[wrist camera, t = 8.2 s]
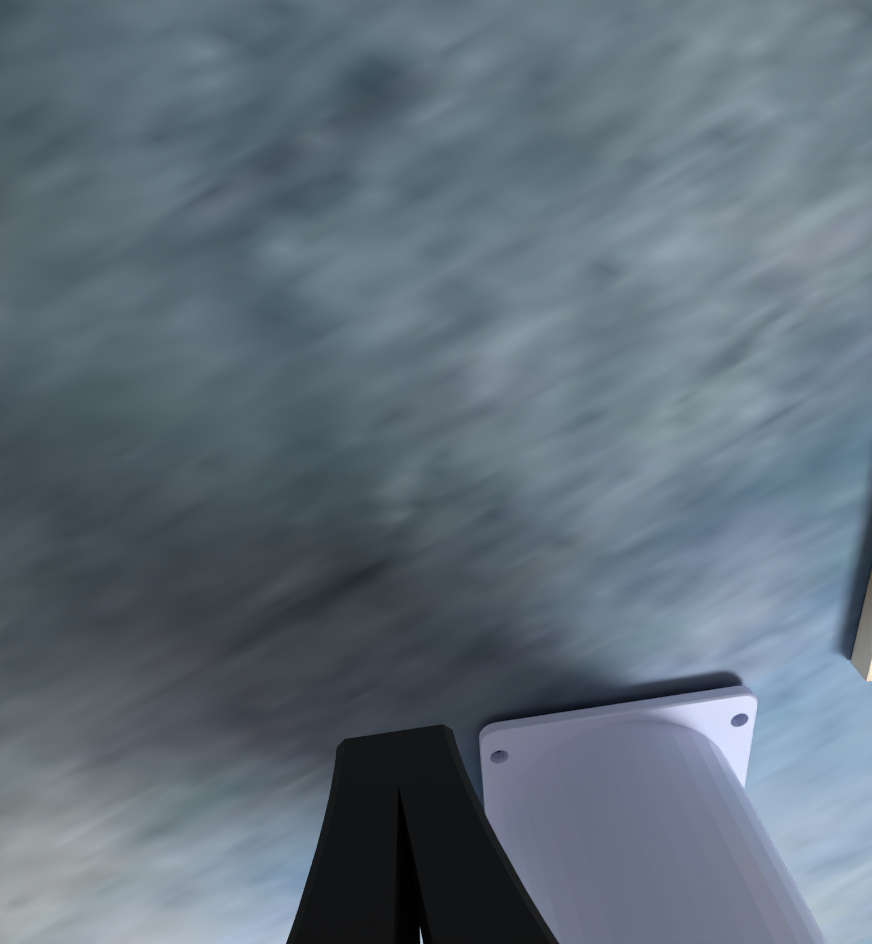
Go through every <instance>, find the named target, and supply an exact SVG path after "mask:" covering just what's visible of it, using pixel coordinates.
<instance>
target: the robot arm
mask: <svg viewBox="0 0 872 944" xmlns="http://www.w3.org/2000/svg"><path fill="white" fill-rule="evenodd" d="M757 704H758V703H757V698H756V697H755V695H754V693H753V692H752V691H751V689H750V688H748V687H746V686H733V687H726V688H720V689H713V690H707V691H700V692H693V693H687V694H680V695H673V696H667V697H660V698H654V699H647V700H640V701H634V702H627V703H620V704H614V705H607V706H601V707H594V708H587V709H581V710H574V711H568V712H561V713H554V714H548V715H541V716H534V717H528V718H521V719H515V720H508V721H501V722H495V723H492V724H489V725H487V726H486V727H484V728H483V729H482V731H481V732H480V735H479V745H480V758H481V771H482V784H483V797H484V810H485V812H484V810H483V808H482V806H481V804H480V802H479V800H478V797H477V795H476V793H475V791H474V789H473V786H472V784H471V782H470V779H469V777H468V775H467V772H466V770H465V767H464V765H463V762H462V759H461V757H460V754H459V751H458V748H457V745H456V742H455V738H454V734H453V731H452V730H451V729H450V728H448V727H447V726H445V725H443V724H442V725H435V726H429V727H422V728H415V729H409V730H402V731H395V732H389V733H382V734H376V735H369V736H362V737H356V738H349V739H345V740H344V741H343V742H342V743H341V744H340V745H339V746H338V747H337V751H336V760H335V768H334V774H333V779H332V785H331V790H330V795H329V800H328V804H327V809H326V813H325V817H324V821H323V825H322V829H321V833H320V837H319V840H318V844H317V848H316V852H315V855H314V858H313V861H312V865H311V868H310V871H309V875H308V878H307V881H306V885H305V888H304V891H303V895H302V898H301V901H300V904H299V908H298V911H297V914H296V917H295V920H294V923H293V926H292V929H291V931H290V934H289V937H288V940H287V942H286V944H420V929H421V934H422V939H423V944H828V943H827V941H826V939H825V937H824V935H823V934H822V932H821V930H820V928H819V926H818V924H817V922H816V921H815V919H814V917H813V915H812V913H811V911H810V910H809V908H808V906H807V904H806V902H805V900H804V899H803V897H802V895H801V893H800V891H799V889H798V887H797V886H796V884H795V882H794V880H793V878H792V876H791V875H790V873H789V871H788V869H787V867H786V865H785V864H784V862H783V860H782V858H781V856H780V854H779V853H778V851H777V849H776V847H775V845H774V843H773V841H772V840H771V838H770V836H769V834H768V832H767V830H766V829H765V827H764V825H763V823H762V821H761V819H760V818H759V816H758V814H757V812H756V810H755V808H754V807H753V805H752V803H751V801H750V799H749V797H748V795H747V794H746V792H745V790H744V787H745V780H746V774H747V767H748V761H749V755H750V748H751V742H752V736H753V729H754V723H755V717H756V710H757ZM737 714H738V715H737ZM735 715H736V716H735ZM499 750H500V751H501V752H498V753H494V752H496V751H499Z"/></svg>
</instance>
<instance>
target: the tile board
mask: <svg viewBox="0 0 872 944" xmlns="http://www.w3.org/2000/svg"><path fill="white" fill-rule="evenodd" d="M851 663H852V665H853V666H854V667H855V668H856V670H857V671H858V672H859V673H860V674H861V676H862V677H863V678H864V679H865V681H866V682H867V681H872V570H871V574H870V579H869V583H868V587H867V592H866V596H865V601H864V605H863V609H862V614H861V618H860V623H859V627H858V631H857V636H856V640H855V645H854V649H853V653H852V658H851Z"/></svg>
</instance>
